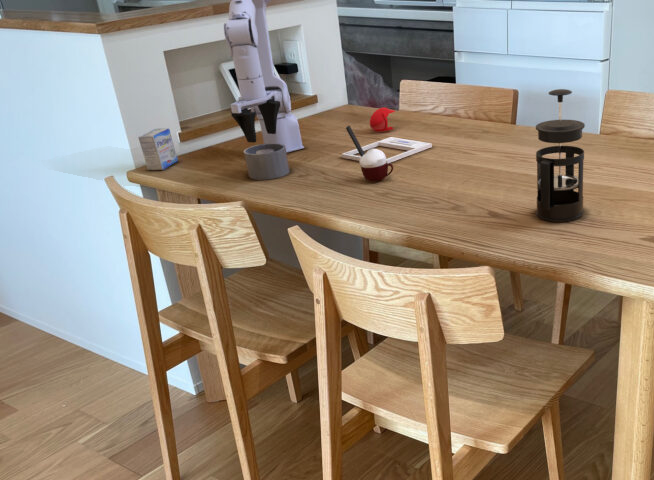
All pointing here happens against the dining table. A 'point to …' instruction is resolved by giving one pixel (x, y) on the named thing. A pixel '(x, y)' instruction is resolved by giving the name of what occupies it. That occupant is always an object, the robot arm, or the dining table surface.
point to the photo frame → (392, 143)
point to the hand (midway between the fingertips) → (262, 137)
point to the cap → (380, 120)
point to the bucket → (266, 162)
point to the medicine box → (158, 149)
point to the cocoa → (371, 161)
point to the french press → (558, 190)
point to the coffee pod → (264, 151)
